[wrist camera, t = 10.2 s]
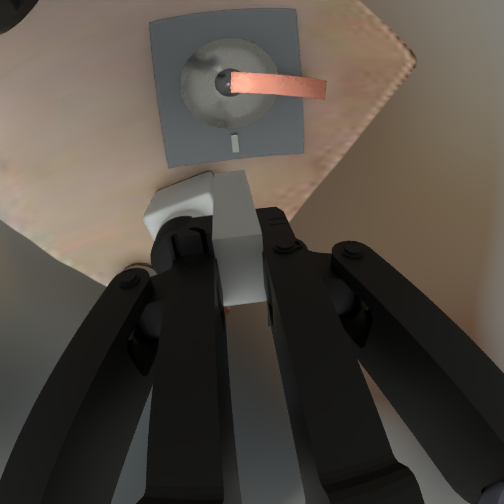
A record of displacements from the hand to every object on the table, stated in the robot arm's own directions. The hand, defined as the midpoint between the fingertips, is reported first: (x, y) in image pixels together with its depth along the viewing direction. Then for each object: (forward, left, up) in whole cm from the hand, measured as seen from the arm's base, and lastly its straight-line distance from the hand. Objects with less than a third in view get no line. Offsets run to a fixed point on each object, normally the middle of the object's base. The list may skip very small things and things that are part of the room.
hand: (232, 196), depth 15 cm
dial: (-6, +3, -19) cm, 20 cm away
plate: (-6, +1, -20) cm, 21 cm away
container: (+9, -5, -21) cm, 23 cm away
